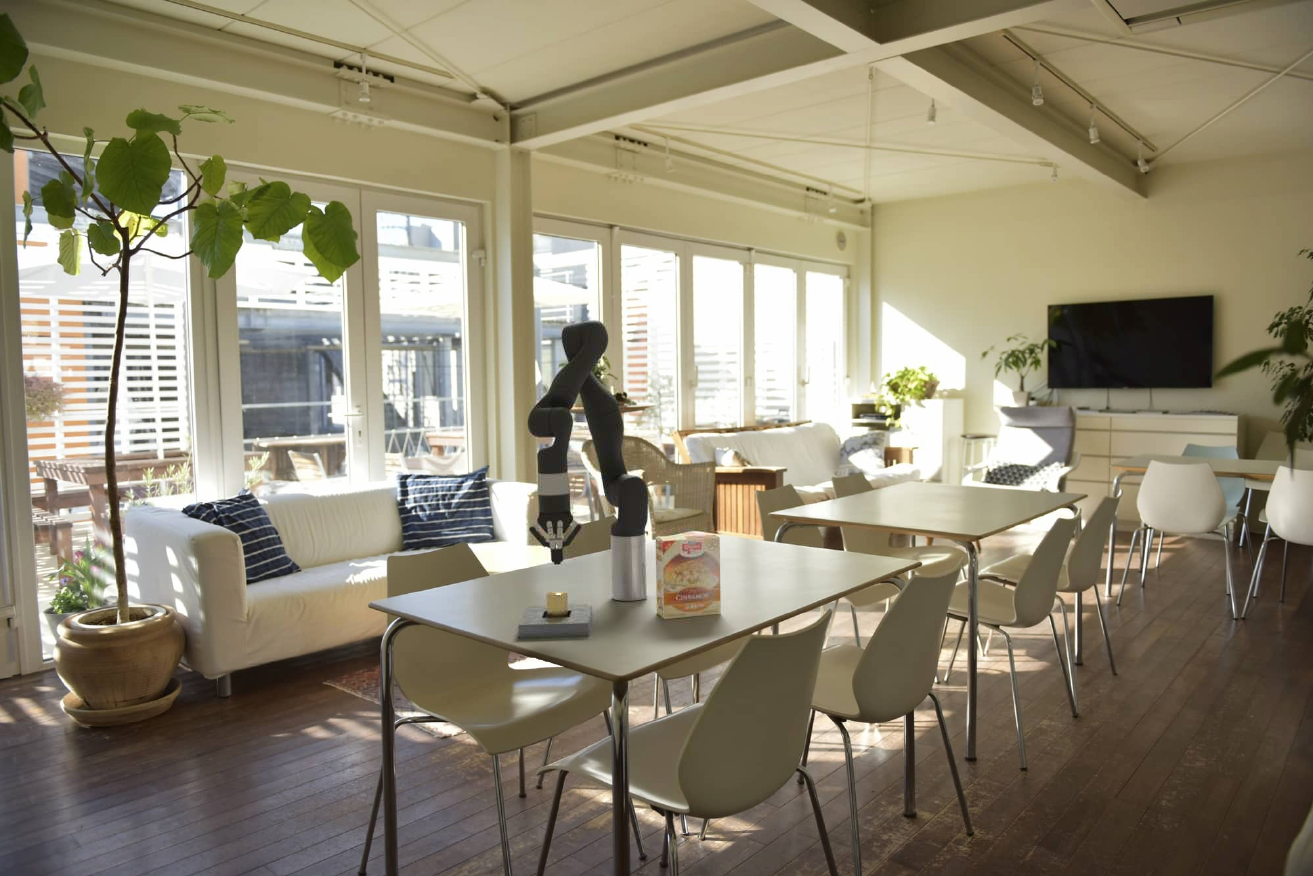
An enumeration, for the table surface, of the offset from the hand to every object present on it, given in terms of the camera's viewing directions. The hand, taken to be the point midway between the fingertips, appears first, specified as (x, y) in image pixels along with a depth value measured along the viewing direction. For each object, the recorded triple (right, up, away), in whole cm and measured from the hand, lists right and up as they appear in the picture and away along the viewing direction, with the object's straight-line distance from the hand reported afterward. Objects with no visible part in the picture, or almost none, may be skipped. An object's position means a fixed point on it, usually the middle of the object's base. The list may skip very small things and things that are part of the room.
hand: (557, 563), depth 219 cm
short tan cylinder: (0, -15, +1) cm, 15 cm away
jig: (0, -15, +1) cm, 15 cm away
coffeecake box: (+32, -14, +11) cm, 36 cm away
